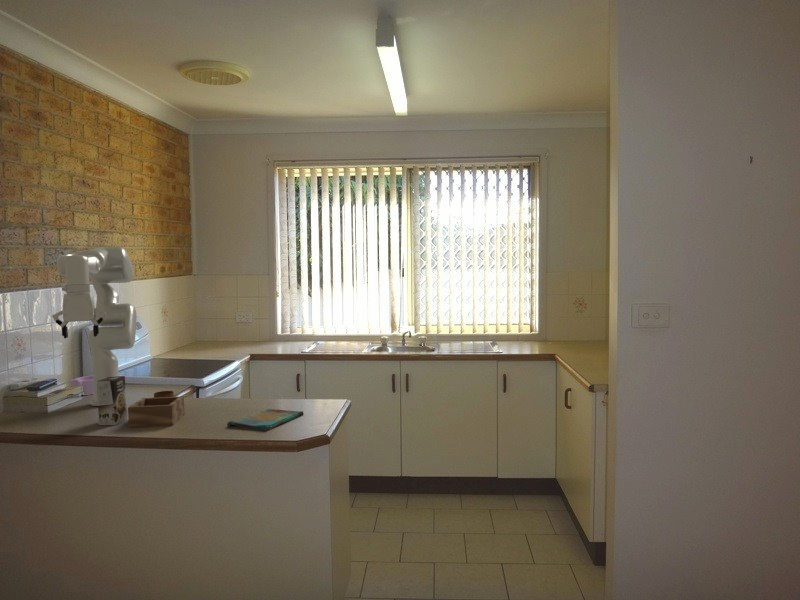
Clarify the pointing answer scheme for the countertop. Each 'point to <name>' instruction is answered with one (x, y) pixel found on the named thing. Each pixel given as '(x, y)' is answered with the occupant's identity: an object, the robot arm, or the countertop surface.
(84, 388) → the pink plastic container
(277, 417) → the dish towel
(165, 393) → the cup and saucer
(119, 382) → the coffee box
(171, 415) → the open wooden box
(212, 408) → the countertop surface
